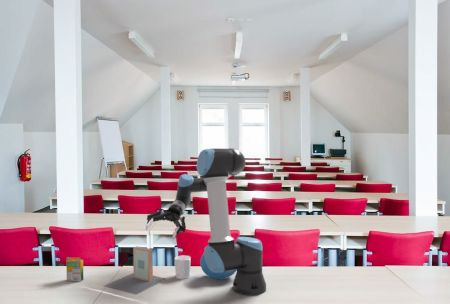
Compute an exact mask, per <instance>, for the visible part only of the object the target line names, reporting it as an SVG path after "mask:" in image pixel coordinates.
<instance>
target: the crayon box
mask: <svg viewBox="0 0 450 304" xmlns="http://www.w3.org/2000/svg"><path fill="white" fill-rule="evenodd" d="M65 262H66V264H65V265H66V282H82V281H83V280H84V259H81V257H69V256H67V257H66V260H65Z"/></svg>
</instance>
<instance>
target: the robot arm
mask: <svg viewBox="0 0 450 304" xmlns="http://www.w3.org/2000/svg"><path fill="white" fill-rule="evenodd" d="M196 160H197V161H196V170H197V173H198V174H199V176H202V177H197V178H196V177H195V178H194V177H193V175H191V174H187V173H184V174H181V175H180V176H179V179H178V182H177V189H176V190H177V192H176V195H175V199H174V201H173V202H172V203H171V204H170V206H169V207H168V208H167V209H166V211H163V209H162V208H161V209H159V210H158V211H155V212H153V213H150V214H147V215H146V216H147V217H146V220H147V223H146V225H145V230H146V231H148V230H149V229H150V227H152V225H153V223H155V222H159V221H169V222H172V223H173V225H175V226H176V229H175V230H174V231H173V232H172V239H175V238H176V236H177V235H180V233H181V232H183V233H185V232H186V229H187V226H186V219H185V218H186V216H182V215H183V214H184V212H185V210H186V209H187V208H188V207H189V206H190V203H191V201H192V195H191V194H192V193H201V192H202V193H203V192H206V193H207V206H208V216H209V217H208V218H209V227H210V229H209V230H210V238H209V239H208V241H207V245H206V246H205V247H204V248H203V250H204V251H203V254H204V258H205V262H206V264H207V266H208V268H209V269H210V270H211V271H212V272H214V273H217V272H224V271H230V270H235V269H237V270H236V272H235V276H234V280H233V283H232V290H233V291H234V292H235V293H238V294H239V295H245V296H256V295H261V294H263V293H265V292H266V290H267V283H266V280H265V277H264V274H263V243H262V241H261V240H260V239H258V238H254V237H250V236H248V237H247V236H238V237H237V238H236V240H235V238H234V237H232V236H231V229H230V227H231V226H230V219H229V218H230V217H229V216H230V215H229V206H228V204H229V203H228V195H227V184H226V182H227V180H228V179H229V178H230V177H233V176H237V175H239V174H240V173H241V172H243V170H244V169H245V167H246V158H245V155H244V154H243V153H242V152H241V151H240V150H238V149H236V148H206V149H202V150H201V151H200V152H199V154H198V157H197V159H196ZM181 216H182V217H181Z"/></svg>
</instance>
